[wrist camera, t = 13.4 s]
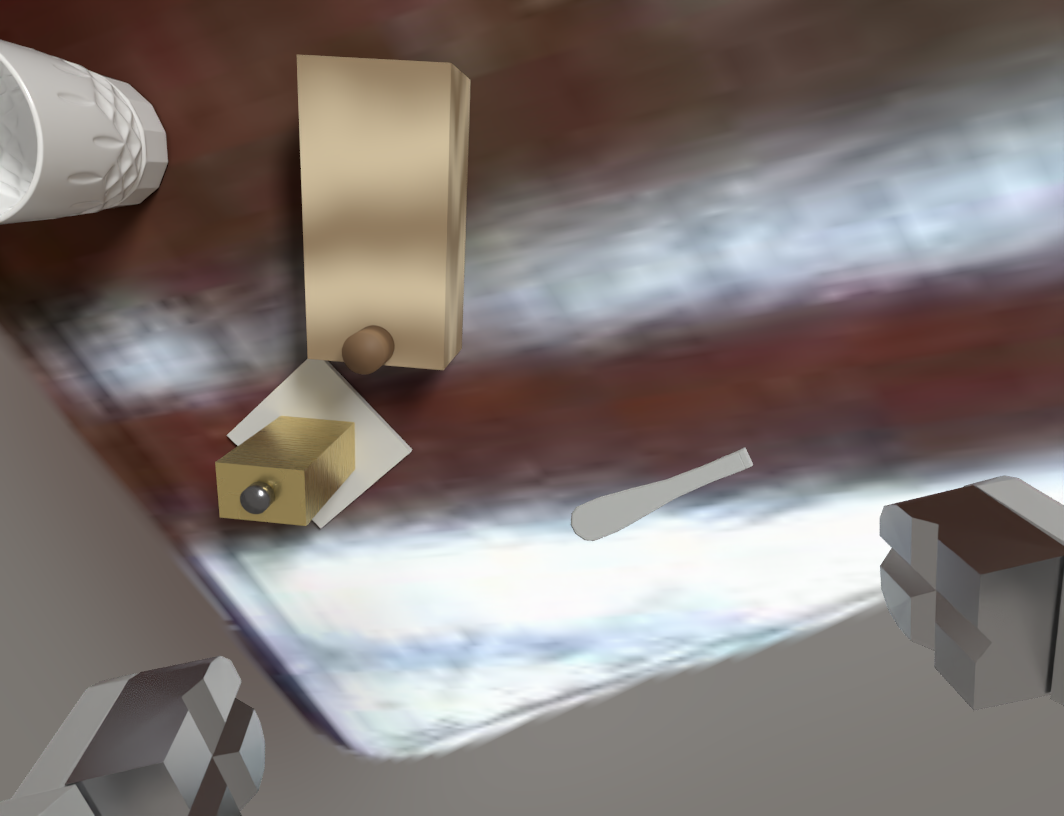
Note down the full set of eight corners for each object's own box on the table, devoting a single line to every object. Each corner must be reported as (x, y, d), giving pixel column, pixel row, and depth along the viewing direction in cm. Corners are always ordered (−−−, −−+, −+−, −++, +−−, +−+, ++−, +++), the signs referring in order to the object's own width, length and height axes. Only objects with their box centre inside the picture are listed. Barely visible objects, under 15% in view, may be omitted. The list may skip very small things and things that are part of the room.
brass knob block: (280, 415, 42) (206, 468, 34) (354, 422, 41) (297, 477, 33) (282, 462, 43) (211, 524, 35) (355, 469, 42) (299, 533, 34)
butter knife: (560, 508, 42) (581, 548, 43) (965, 338, 37) (982, 386, 38) (561, 505, 43) (581, 544, 43) (961, 337, 38) (978, 384, 38)
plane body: (336, 72, 36) (277, 45, 29) (470, 80, 36) (441, 54, 29) (341, 338, 40) (291, 368, 34) (461, 348, 40) (434, 380, 33)
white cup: (110, 31, 36) (-61, -25, 27) (209, 163, 38) (80, 154, 29) (12, 124, 38) (-180, 102, 29) (110, 246, 40) (-42, 263, 30)
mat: (230, 433, 43) (226, 435, 42) (317, 350, 41) (314, 351, 40) (323, 525, 44) (320, 528, 44) (412, 449, 42) (410, 452, 42)
